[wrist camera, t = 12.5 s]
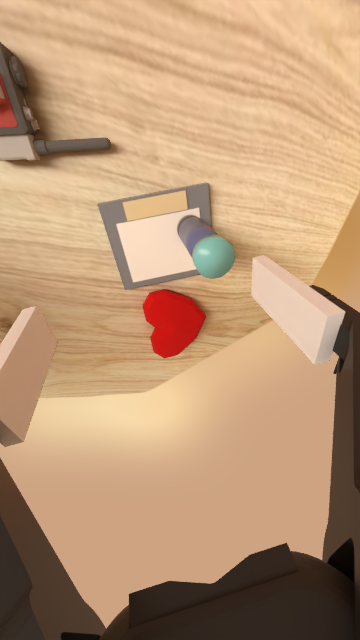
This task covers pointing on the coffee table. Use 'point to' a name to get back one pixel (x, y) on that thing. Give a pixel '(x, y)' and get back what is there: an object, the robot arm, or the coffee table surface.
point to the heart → (172, 321)
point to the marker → (205, 247)
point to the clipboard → (153, 233)
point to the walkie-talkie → (27, 119)
